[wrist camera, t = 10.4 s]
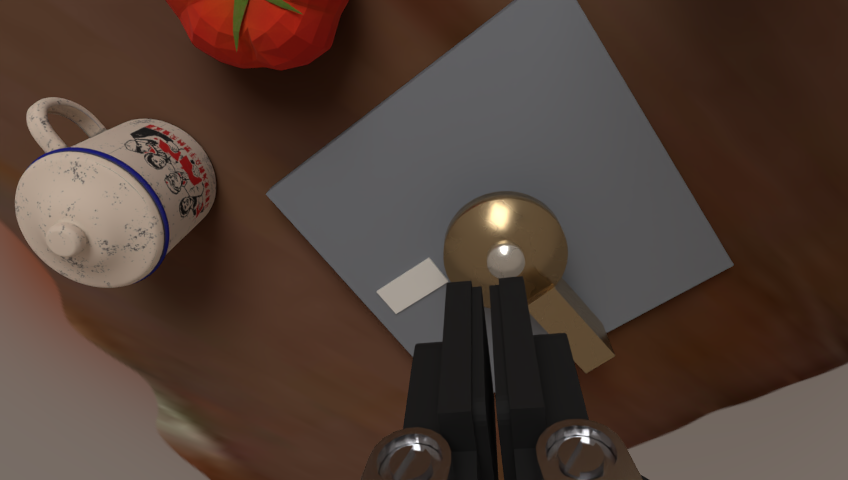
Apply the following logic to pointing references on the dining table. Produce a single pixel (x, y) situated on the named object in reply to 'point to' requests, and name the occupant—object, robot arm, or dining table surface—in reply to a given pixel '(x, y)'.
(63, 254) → the teacup with lid
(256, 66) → the tomato
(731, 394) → the dining table surface
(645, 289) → the base
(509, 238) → the lock handle
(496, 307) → the robot arm
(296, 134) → the dining table surface
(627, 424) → the dining table surface
